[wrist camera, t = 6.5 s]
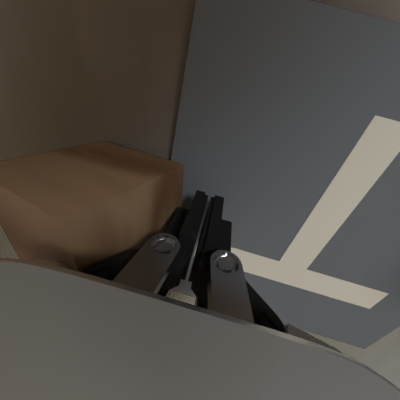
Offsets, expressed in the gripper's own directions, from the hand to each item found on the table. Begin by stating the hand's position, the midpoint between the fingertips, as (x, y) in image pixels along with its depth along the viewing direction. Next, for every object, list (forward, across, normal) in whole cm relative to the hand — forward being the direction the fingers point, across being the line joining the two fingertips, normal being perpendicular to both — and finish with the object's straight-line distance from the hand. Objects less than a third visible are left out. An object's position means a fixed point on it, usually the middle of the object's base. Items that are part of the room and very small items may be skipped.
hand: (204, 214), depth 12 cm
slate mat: (+2, -7, 0) cm, 7 cm away
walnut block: (+1, +4, 0) cm, 4 cm away
